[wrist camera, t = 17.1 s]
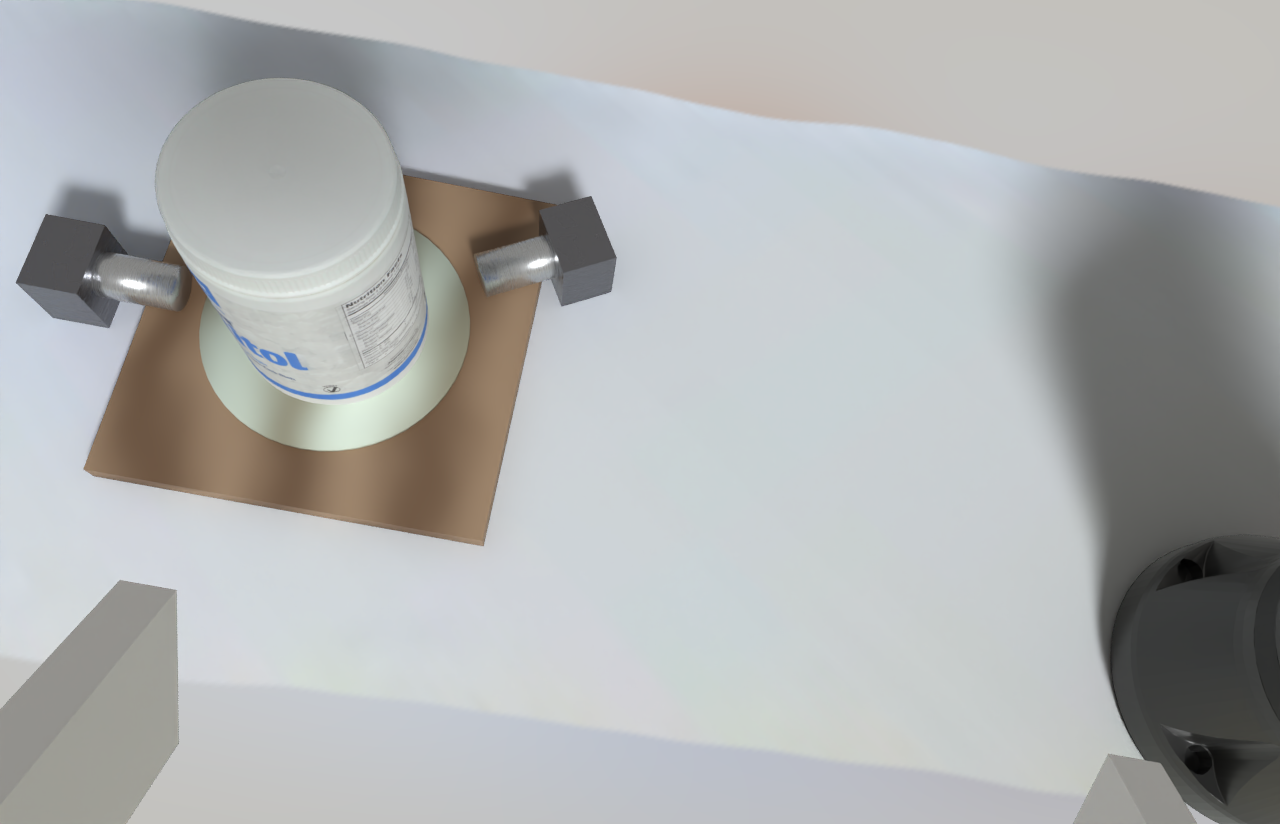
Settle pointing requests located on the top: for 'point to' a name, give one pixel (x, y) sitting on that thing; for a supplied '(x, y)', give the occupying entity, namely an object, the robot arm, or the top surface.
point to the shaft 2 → (555, 256)
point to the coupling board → (352, 433)
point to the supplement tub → (299, 235)
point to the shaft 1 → (95, 274)
